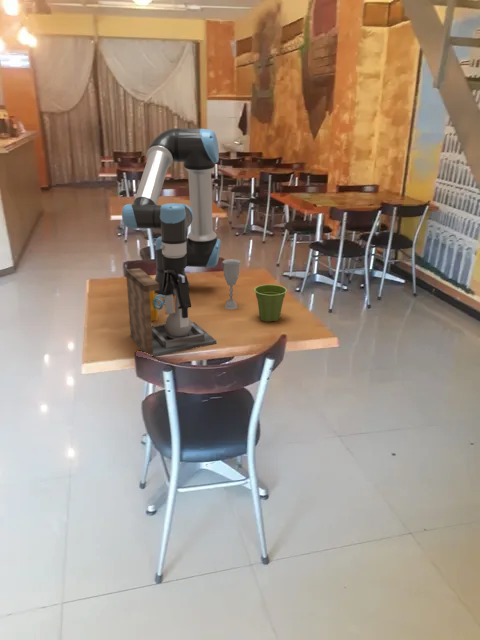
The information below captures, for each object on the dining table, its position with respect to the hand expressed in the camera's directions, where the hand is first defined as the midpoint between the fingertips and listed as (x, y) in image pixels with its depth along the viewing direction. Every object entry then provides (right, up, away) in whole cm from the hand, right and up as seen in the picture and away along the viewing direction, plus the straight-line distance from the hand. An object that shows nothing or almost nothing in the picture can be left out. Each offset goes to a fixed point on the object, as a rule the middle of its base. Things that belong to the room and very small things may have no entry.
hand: (176, 319), depth 164 cm
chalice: (+17, +5, +31) cm, 36 cm away
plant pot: (+31, 0, +21) cm, 38 cm away
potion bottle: (0, -5, +2) cm, 6 cm away
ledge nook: (-1, -7, +2) cm, 7 cm away
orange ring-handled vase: (-12, 0, +19) cm, 22 cm away
